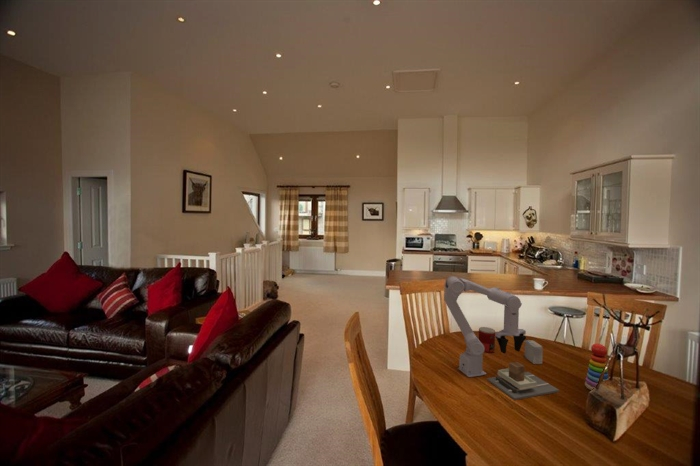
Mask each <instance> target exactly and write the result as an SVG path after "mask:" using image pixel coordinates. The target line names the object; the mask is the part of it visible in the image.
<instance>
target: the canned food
mask: <svg viewBox="0 0 700 466" xmlns="http://www.w3.org/2000/svg"><path fill="white" fill-rule="evenodd" d="M478 339H479V340H480V342H481V343H482V344H483V345H484V348H485V350H484V353H488V354H492V353H494V352H495V349H496V348H495V347H496V330H495V329H494V328H491V327H487V326H481V327H479V328H478Z"/></svg>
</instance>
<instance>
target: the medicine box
mask: <svg viewBox="0 0 700 466" xmlns="http://www.w3.org/2000/svg"><path fill="white" fill-rule="evenodd" d="M543 348H544V347H543V346H542V345H541V344H539V343H538V342H536V341H535V340H532V339H531V340H526V339H525V340H524V358H526V359H527V360H528V361H529V362H531V363H532V364H533V365H543V356H544V355H543V354H544V352H543V350H544V349H543Z"/></svg>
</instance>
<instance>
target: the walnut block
mask: <svg viewBox="0 0 700 466" xmlns="http://www.w3.org/2000/svg"><path fill="white" fill-rule="evenodd" d="M508 368H509V377H510V378H512V379H513V380H515V381H516V382H519V381H524V374H525V372H526V371H525V370H526V369H525V368H526V366H525V365H523V364H522V363H520V362H518V361H513V362H508Z"/></svg>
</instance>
